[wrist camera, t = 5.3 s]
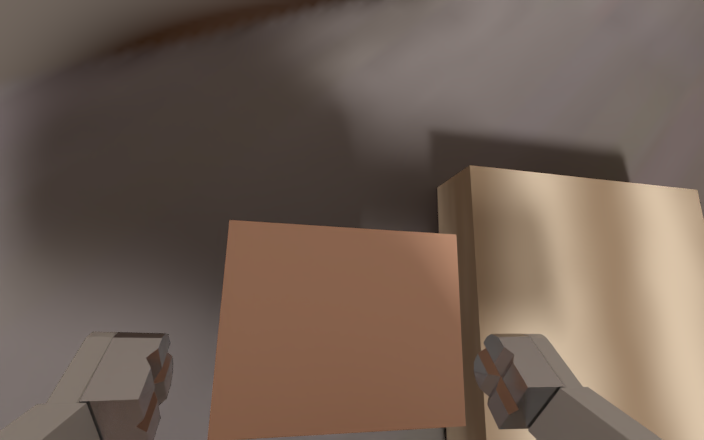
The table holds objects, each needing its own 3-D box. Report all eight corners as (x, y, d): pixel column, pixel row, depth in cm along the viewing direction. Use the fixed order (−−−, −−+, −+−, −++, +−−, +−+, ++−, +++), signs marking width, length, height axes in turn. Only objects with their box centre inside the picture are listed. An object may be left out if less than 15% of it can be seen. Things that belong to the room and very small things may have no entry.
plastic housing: (241, 364, 14) (207, 441, 6) (250, 262, 15) (229, 220, 7) (365, 363, 15) (466, 426, 7) (366, 267, 16) (456, 234, 8)
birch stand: (447, 465, 15) (490, 504, 12) (437, 187, 17) (469, 165, 15) (676, 446, 17) (757, 475, 14) (635, 206, 20) (697, 190, 17)
